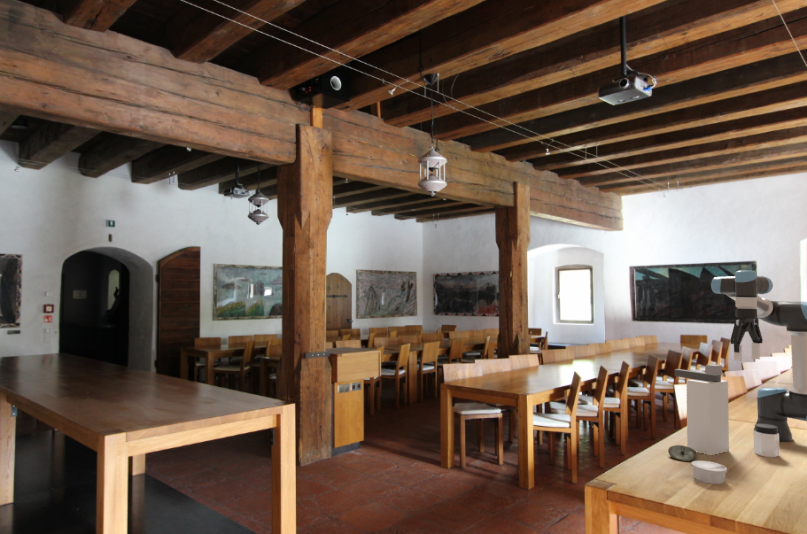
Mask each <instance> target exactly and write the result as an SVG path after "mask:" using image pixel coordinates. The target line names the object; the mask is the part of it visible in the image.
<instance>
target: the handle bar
mask: <svg viewBox="0 0 807 534" xmlns="http://www.w3.org/2000/svg"><path fill="white" fill-rule="evenodd" d="M721 376H723V365H720V364H714V363H711V364H706V365H705V372H702V371H696V370H695V371H694V370H687V369H680V368H675V369H674V377H677V378H685V379H689V380H690V379H697V380H703V381H710V382H716V383H717V382H721V380H722V377H721Z"/></svg>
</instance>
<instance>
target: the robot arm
mask: <svg viewBox="0 0 807 534" xmlns="http://www.w3.org/2000/svg"><path fill="white" fill-rule="evenodd" d="M734 274H735V275H734V276H717V277H713V278H712V280H711V283H710V287H711V291H712V292H713V293H714V294H720V295H722V294H723V295H726V296H727V297H729V298H731V299H732V300H734V302H735V307H736V308H735V317H736V318H738V319H734V321H733V324H734V325H733V328H732V332H731V335H730V340H729V342H730V344H731V345H733V361H737V362H742V361H743V345H742V344H741V343H742V341H743V339H744V336H745V333H748V335H749V337H750V339H751V341H752V342H751V359H752V360H753V359H754V360H761V359H760V358H761V357H760V356H761V355H760V354H761V353H760V350H761V349H760V344H763V340H764V339H763V336H762V332H761V329H760V328H761V327H760V325H759V320H761V321H763V322H765V323H768V324H770V325H772V326H778V327H786V332H787V333H788V334H789V335H790V347H791V368H792V369H791V370H792V373H791V374H792V387H790V388H789V390H788V389H787V388H784V387H762V388H759V389H758V390H757V394H756V401H757V402H756V405H757V406H756V407H757V419H756V423H755V424H769V425H774V426H776V427H778V433H779V442H789V441H790V440H791V441H792V440H793V434H792V433H793V432H791V428H790V425H789V423H788V419H792V420H799V421H804V422H807V301H782V300H781V301H778V300H770V299H768V298H763V297H761V296H760V295H764V294H768V293H770V292H771V291H772V290H773V288H774V284H773V281H772V280H771V278H769V277H767V276H763V275H759V276H758V275H757V271H756V270H738V271H735V272H734ZM756 318H757V319H756ZM758 319H759V320H758ZM754 431H755V426H754V427H753V432H754Z"/></svg>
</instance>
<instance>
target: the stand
mask: <svg viewBox="0 0 807 534" xmlns="http://www.w3.org/2000/svg"><path fill="white" fill-rule="evenodd" d="M729 413H730V412H729V381H728V380H722V379H721V382H717V383H716V382H710V381H703V380H697V379H690V378H689V379H686V446H687V447H690V448H692V449H693V450H695V451H697V452H696V453H698V452H700V453H699V454H701V453H704V454H703V455H705V454H707V455H706V456H709V455H713V456H716V455H715V454H717V455H720V454H719V453H721V454H724V453H723V452H725V453H728V451H729V452H730V435H729V434H730V432H729V431H730V427H729V425H730V423H729V421H730V419H729V417H730V415H729Z"/></svg>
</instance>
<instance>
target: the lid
mask: <svg viewBox="0 0 807 534" xmlns="http://www.w3.org/2000/svg"><path fill="white" fill-rule="evenodd" d="M667 452H668V455H669V456H670V457H671V458H672V459H673V460H676V459H677V461H679V460H681V461H680V462H693V461H695V459H696V458H697V457H698V452H696V451H695V450H693V449H692V448H690V447H687V445H681V444H676V445H671V446H670V447H669V448H668V450H667Z"/></svg>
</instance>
